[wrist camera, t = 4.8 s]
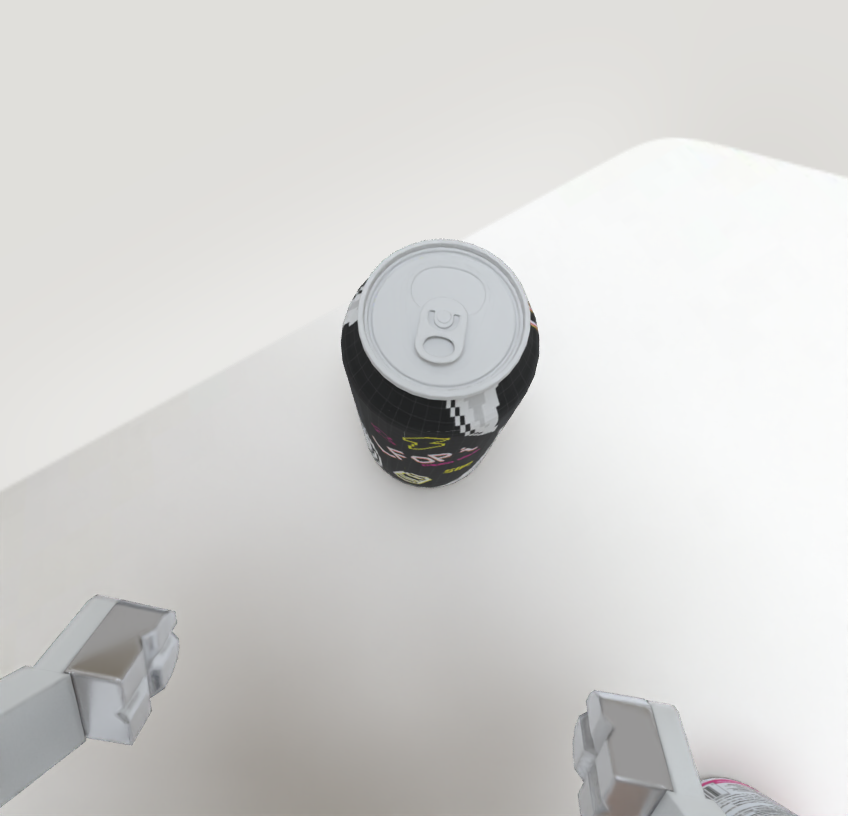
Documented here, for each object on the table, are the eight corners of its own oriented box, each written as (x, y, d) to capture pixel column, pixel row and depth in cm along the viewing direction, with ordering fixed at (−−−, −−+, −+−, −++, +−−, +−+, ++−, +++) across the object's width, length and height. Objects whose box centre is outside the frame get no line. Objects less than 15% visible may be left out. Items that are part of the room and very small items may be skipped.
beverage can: (354, 478, 25) (310, 398, 14) (378, 361, 27) (357, 201, 15) (480, 500, 25) (542, 438, 14) (497, 381, 27) (565, 235, 15)
